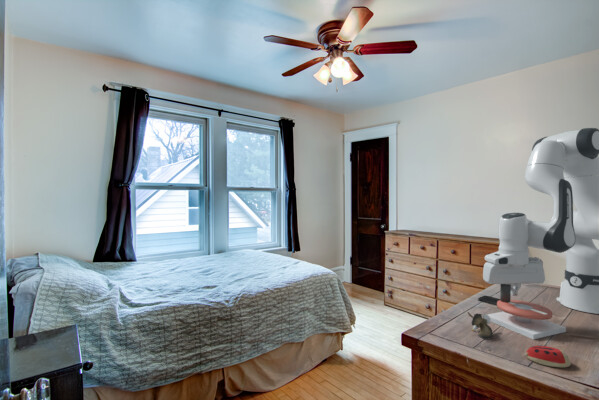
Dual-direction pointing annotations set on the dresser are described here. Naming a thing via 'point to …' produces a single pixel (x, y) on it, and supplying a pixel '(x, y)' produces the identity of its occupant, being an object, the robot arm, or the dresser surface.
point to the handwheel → (521, 306)
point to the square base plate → (526, 325)
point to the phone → (489, 300)
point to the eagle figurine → (482, 325)
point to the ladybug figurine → (548, 356)
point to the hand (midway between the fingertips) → (513, 295)
